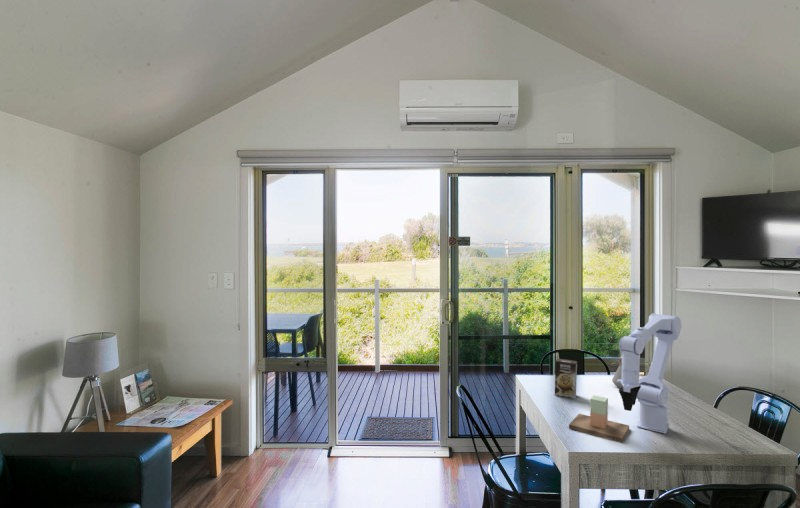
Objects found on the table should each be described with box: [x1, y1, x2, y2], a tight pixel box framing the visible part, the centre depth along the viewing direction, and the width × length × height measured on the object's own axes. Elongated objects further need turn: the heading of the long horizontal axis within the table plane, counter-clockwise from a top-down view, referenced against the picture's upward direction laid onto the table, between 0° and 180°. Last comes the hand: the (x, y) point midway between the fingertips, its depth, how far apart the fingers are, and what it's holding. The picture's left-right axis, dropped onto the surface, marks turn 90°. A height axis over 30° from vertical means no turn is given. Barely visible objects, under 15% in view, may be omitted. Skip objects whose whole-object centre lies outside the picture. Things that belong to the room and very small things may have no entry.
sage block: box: [589, 394, 609, 415], centre depth 156 cm, size 5×5×5 cm
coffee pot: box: [612, 359, 624, 389], centre depth 202 cm, size 21×12×15 cm, turn 158°
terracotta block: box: [589, 412, 609, 429], centre depth 156 cm, size 5×5×5 cm
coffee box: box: [554, 357, 578, 399], centre depth 194 cm, size 9×6×16 cm
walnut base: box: [568, 413, 630, 443], centre depth 156 cm, size 18×14×2 cm
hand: (629, 407), depth 151 cm, fingers open, 7 cm apart
